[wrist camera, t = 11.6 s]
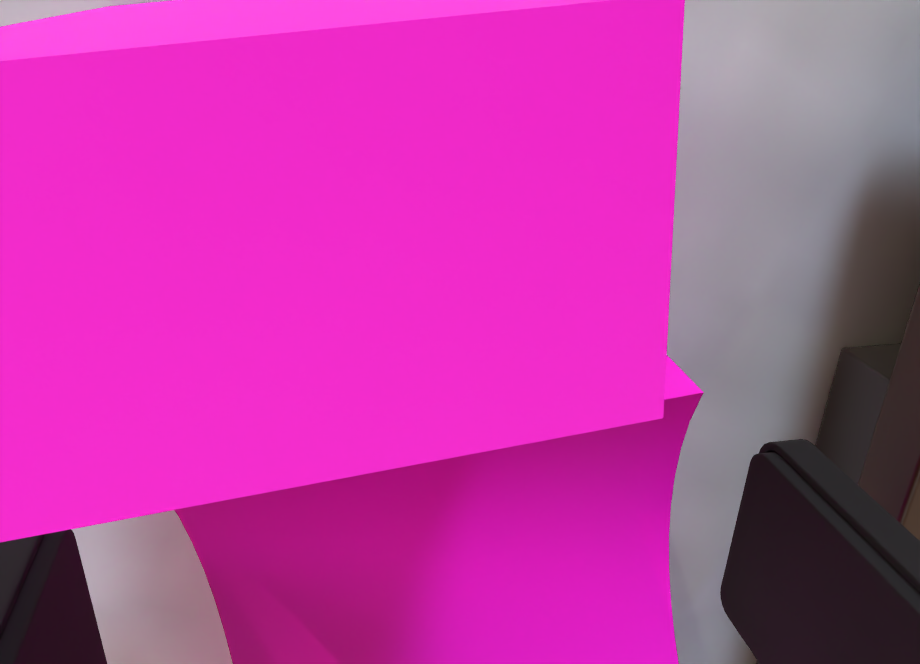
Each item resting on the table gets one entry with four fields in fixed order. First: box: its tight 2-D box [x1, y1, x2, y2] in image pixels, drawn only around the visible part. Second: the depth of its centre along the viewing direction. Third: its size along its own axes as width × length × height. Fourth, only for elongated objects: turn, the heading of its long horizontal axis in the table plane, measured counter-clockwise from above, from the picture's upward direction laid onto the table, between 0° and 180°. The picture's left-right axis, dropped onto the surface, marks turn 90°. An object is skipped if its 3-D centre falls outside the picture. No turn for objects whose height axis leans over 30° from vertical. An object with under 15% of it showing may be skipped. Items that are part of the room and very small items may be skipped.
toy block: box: [0, 0, 704, 664], centre depth 10 cm, size 15×6×8 cm, turn 5°
